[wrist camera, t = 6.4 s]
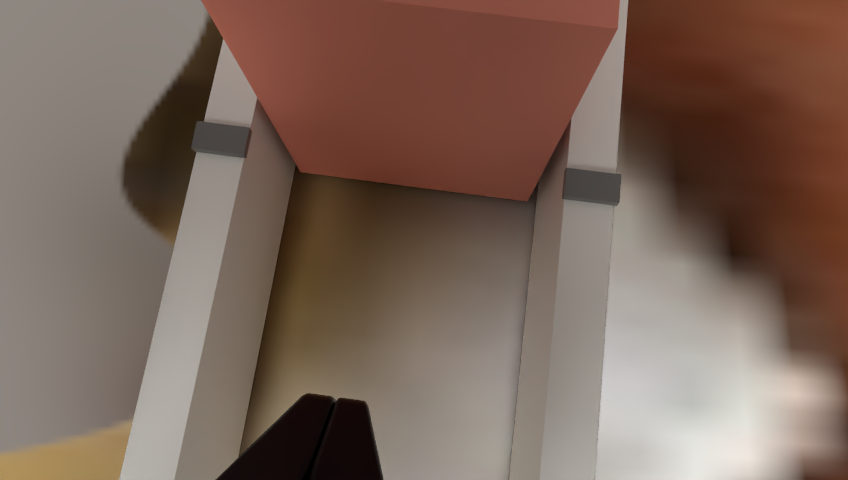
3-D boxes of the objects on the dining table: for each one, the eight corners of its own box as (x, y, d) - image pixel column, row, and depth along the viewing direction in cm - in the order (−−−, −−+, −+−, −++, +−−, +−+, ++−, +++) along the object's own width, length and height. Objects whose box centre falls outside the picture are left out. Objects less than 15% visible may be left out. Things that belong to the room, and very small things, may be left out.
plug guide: (541, 614, 15) (585, 700, 10) (173, 557, 15) (77, 619, 11) (599, -73, 19) (646, -202, 15) (313, -105, 19) (283, -239, 15)
